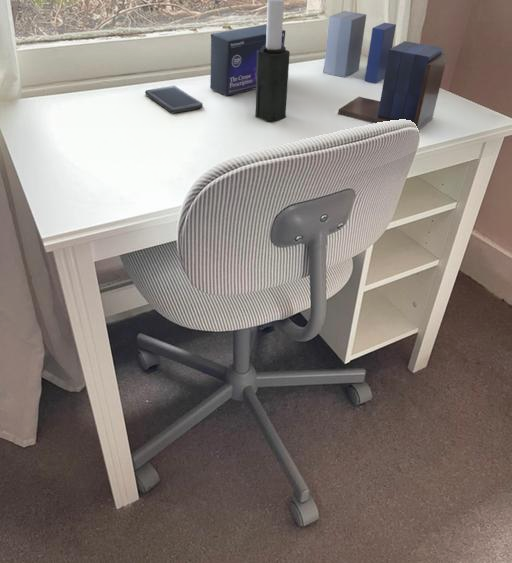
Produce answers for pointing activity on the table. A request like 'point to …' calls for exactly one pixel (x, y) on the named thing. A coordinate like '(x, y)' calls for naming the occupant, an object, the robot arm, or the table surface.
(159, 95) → the cell phone
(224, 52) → the box
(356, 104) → the book rack
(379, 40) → the navy book
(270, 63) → the candle
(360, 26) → the grey upright block
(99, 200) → the table surface
